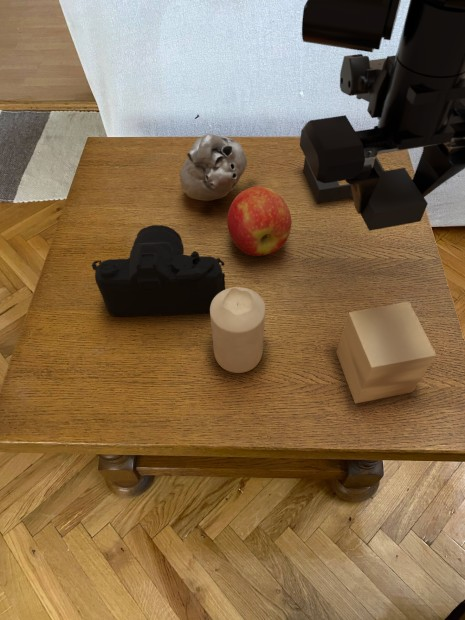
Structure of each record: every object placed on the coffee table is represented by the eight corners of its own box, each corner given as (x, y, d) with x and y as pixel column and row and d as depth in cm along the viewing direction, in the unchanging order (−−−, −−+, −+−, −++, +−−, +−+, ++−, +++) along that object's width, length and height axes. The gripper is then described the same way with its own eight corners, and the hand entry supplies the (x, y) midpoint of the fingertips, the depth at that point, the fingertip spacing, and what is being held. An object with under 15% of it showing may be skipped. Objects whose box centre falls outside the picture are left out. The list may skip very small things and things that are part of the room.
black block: (398, 185, 53) (404, 167, 51) (420, 221, 50) (428, 203, 48) (349, 194, 52) (354, 176, 50) (369, 231, 49) (374, 213, 47)
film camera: (225, 256, 63) (223, 204, 56) (226, 317, 58) (223, 269, 50) (109, 259, 63) (92, 208, 56) (99, 320, 58) (78, 273, 51)
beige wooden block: (389, 342, 56) (409, 301, 49) (412, 392, 52) (436, 355, 45) (335, 352, 55) (348, 312, 48) (355, 403, 51) (371, 367, 45)
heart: (265, 185, 71) (254, 107, 61) (238, 227, 66) (221, 149, 57) (205, 176, 75) (186, 102, 66) (175, 216, 70) (150, 141, 61)
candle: (220, 379, 53) (217, 329, 45) (208, 337, 56) (203, 284, 48) (268, 366, 54) (273, 316, 46) (254, 326, 57) (256, 272, 49)
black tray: (367, 161, 74) (371, 147, 72) (385, 192, 70) (389, 179, 68) (302, 171, 73) (304, 157, 71) (317, 203, 69) (319, 189, 67)
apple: (236, 271, 62) (235, 226, 55) (221, 225, 67) (219, 179, 60) (295, 259, 63) (302, 214, 56) (277, 215, 68) (281, 168, 61)
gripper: (489, -1, 44) (433, 146, 57) (290, 24, 42) (278, 171, 55) (563, 63, 38) (481, 212, 50) (333, 95, 35) (308, 242, 48)
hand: (384, 206), depth 51 cm, fingers closed on black block, 5 cm apart
